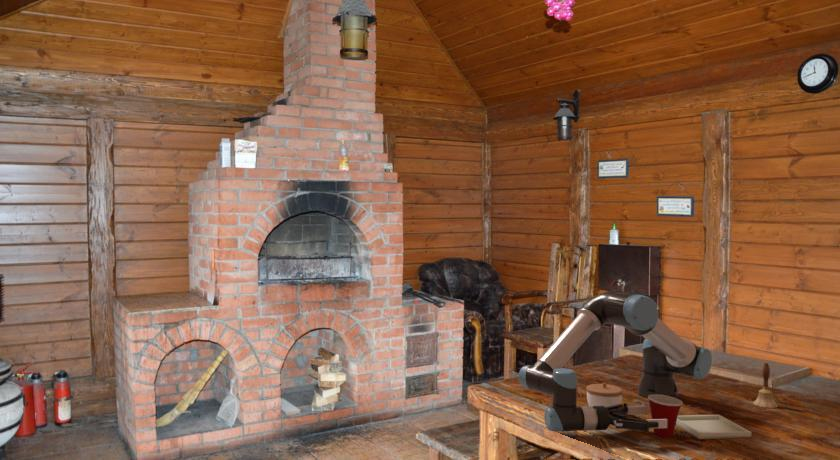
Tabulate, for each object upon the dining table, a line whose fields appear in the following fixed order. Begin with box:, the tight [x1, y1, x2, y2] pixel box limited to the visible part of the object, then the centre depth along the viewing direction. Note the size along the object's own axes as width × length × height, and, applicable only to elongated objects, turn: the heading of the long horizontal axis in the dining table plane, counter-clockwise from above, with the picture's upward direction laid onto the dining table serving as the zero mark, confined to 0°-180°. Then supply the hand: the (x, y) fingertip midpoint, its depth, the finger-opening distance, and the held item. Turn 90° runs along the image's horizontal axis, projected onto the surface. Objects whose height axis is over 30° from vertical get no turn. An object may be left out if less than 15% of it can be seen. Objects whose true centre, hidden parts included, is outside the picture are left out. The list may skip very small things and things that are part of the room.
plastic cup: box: [647, 394, 684, 438], centre depth 207 cm, size 11×11×12 cm
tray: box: [676, 414, 752, 440], centre depth 213 cm, size 18×18×2 cm
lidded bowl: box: [585, 382, 624, 407], centre depth 229 cm, size 13×13×11 cm
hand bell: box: [752, 362, 779, 409], centre depth 241 cm, size 8×8×16 cm
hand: (656, 416), depth 206 cm, fingers open, 13 cm apart
